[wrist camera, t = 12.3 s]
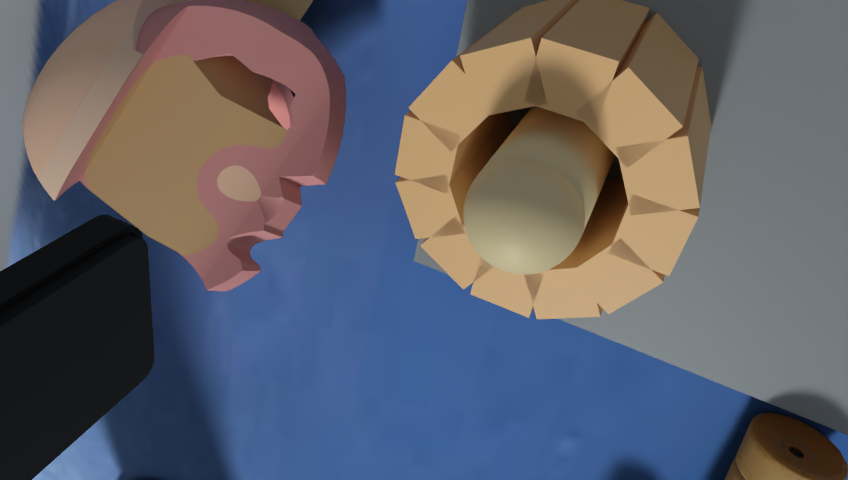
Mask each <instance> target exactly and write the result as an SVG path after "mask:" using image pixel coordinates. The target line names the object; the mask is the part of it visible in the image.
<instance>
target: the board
mask: <svg viewBox="0 0 848 480" xmlns="http://www.w3.org/2000/svg"><path fill="white" fill-rule="evenodd" d="M543 1H547V0H468V1H467V6H466V11H465V16H464V21H463V25H462V30H461V35H460V40H459V45H458V50H457V54H456V57H457V56H458V55H460V54H461V53H462V52H464V51H465V50H466V49H467V48H469V47H470V46H471V45H473V44H474V43H475V42H477V41H478V40H479V39H481V38H482V37H483V36H484V35H486V34H487V33H488V32H490V31H491V30H492V29H494V28H495V27H496V26H498V25H499V24H500V23H501V22H503V21H504V20H505V19H507V18H508V17H509V16H511V15H512V14H513V13H515V12H516V11H519V10H520V9H521V8H522V7H525V6H529V5H532V4H536V3H540V2H543ZM623 1H627V2H630V3H634V4H637V5H641V6H644V7H648V8H650V9H649V12H648V14H647V17H646V20H645V23H646V22H647V21H648V20H649V19H650V18H651V17H653V16H654V15H655V14H656V13H658V14H659V15H660V16H661V17H662V18H663V20H664V21H665V22H666V23H667V24H668V25H669V26H670V27H671V28H672V30H673V31H674V32H675V33H676V34H677V35H678V36H679V37H680V38H681V39H682V41H683V42H684V43H685V44H686V45H687V46H688V47H689V48H690V49H691V50H692V52H693V53H694V54H695V55H696V56H697V57H698V58H699V61H698V65H697V67H700V66H703V73H704V80H705V86H706V93H707V99H708V106H709V113H710V119H711V130H710V138H709V145H708V152H707V160H706V167H705V174H704V181H703V189H702V196H701V203H700V210H699V217H698V219H697V221H696V223H695V225H694V227H693V229H692V231H691V233H690V235H689V237H688V239H687V241H686V244H685V246H684V248H683V250H682V252H681V254H680V256H679V258H678V260H677V262H676V264H675V266H674V268H673V270H672V272H671V274H670V276H667V275H665V277H664V282H663V283H662V284H660V285H658V286H657V287H655V288H653V289H651V290H650V291H648V292H646V293H645V294H643V295H641V296H639V297H638V298H636V299H634V300H633V301H631V302H629V303H627V304H626V305H624V306H622V307H621V308H619V309H617V310H615V311H614V312H612V313H610V314H609V315H608V314H607V312H606V311H605V310H604V309H603V310H602V313H601V316H600V317H583V318H557V319H560V320H562V321H565V322H567V323H570V324H572V325H575V326H577V327H580V328H582V329H585V330H587V331H590V332H592V333H595V334H597V335H600V336H602V337H605V338H607V339H610V340H612V341H615V342H617V343H620V344H622V345H625V346H627V347H630V348H632V349H635V350H637V351H640V352H642V353H645V354H647V355H650V356H652V357H655V358H657V359H660V360H662V361H665V362H667V363H670V364H672V365H675V366H677V367H680V368H682V369H685V370H687V371H690V372H692V373H695V374H697V375H700V376H702V377H705V378H707V379H710V380H712V381H715V382H717V383H719V384H722V385H724V386H727V387H729V388H732V389H734V390H737V391H739V392H742V393H744V394H747V395H749V396H752V397H754V398H757V399H759V400H762V401H764V402H767V403H769V404H772V405H774V406H777V407H779V408H782V409H784V410H787V411H789V412H792V413H794V414H797V415H799V416H802V417H804V418H807V419H809V420H812V421H814V422H817V423H819V424H822V425H824V426H827V427H829V428H832V429H834V430H837V431H839V432H842V433H844V434H847V435H848V0H623ZM645 23H644V24H645ZM509 117H510V120H511V124H512V127H513V131H512V133H511V134H510V135H509V136H508V138H507V139H506V140H505V141H504V143H503V144H502V145H501V146H500V148H499V149H498V150H497V151H496V153H495V154H494V155H493V156H492V158H491V159H490V160H489V161H488V163H487V164H486V165H485V166H484V168H483V169H482V170H481V171H480V173H479V174H478V175H477V177H476V178H475V179H474V181H473V182H472V184H471V186H470V188H469V190H468V192H467V195H466V199H465V202H464V212H463V219H464V226H465V230H466V234H467V236H468V239H469V241H470V243H471V244H472V246H473V247H474V249H475V250H476V252H477V253H478V254H479V255H480V256H481V257H482V258H483V259H484V260H485V261H486V262H488V263H489V264H490V265H492V266H494V267H495V268H498V269H500V270H502V271H505V272H508V273H513V274H521V275H529V274H536V273H540V272H543V271H546V270H549V269H551V268H553V267H555V266H556V265H558V264H560V263H561V262H562V261H564V260H565V259H566V258H567V257H568V256H569V255H570V254H571V253H572V252H573V250H574V249H575V247H576V246H577V244H578V243H579V241H580V239H581V236H582V234H583V232H584V229H585V227H586V225H587V222H588V220H589V217H590V215H591V213H592V210H593V208H594V206H595V203H596V201H597V198H598V196H599V194H600V191H601V189H602V186H603V184H604V182H605V181H610V180H613V179H614V178H616V177H617V176H618V175H620V174H621V173H622V171H621V167H620V162H619V159H618V158H617V156H616V155H615V154H614V153H613V152H612V151H611V150H610V149H609V148H608V147H607V146H606V145H605V144H604V143H603V142H602V140H601V139H600V138H599V137H598V136H597V135H596V134H595V133H594V132H593V131H592V130H591V129H590V128H589V127H588V126H587V124H586V123H585V122H583V121H580V120H577V119H574V118H571V117H568V116H565V115H561V114H558V113H555V112H552V111H549V110H546V109H543V108H540V107H537V106H533V107H528V108H523V109H518V110H513V111H510V113H509ZM425 239H426V238H421V239H418V243H417V248H416V252H415V257H414V261H415V262H418V263H420V264H423V265H425V266H428V267H430V268H433V269H435V270H438V271H440V272H443V273H445V274H447V273H446V271H445V270H444V269H443V268H442V267H441V266H440V265H439V264H438V263H437V262H436V261H435V260H434V259H433V258H432V257H431V256H430V255H429V254H428V253H427V252H426V251H425V250H424V249H423V248H422V247H421V246H420V245H421V244H422V243H423V242H424V240H425ZM473 283H474V282H473ZM473 283H472V284H473ZM533 309H534V307H533Z"/></svg>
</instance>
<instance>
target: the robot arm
mask: <svg viewBox="0 0 848 480" xmlns="http://www.w3.org/2000/svg"><path fill="white" fill-rule="evenodd" d="M153 363H154V344H153V327H152V311H151V295H150V278H149V262H148V247H147V243H146V242H145V241H144V240H143V238H142V233H141V231H140V230H139V229H138V228H137V227H134V226H132V225H130V224H128V223H125V222H123V221H120V220H118V219H116V218H113V217H111V216H109V215H100V216H97V217H95V218H93V219H91V220H90V221H88V222H86V223H84V224H83V225H81V226H79V227H77V228H76V229H74V230H72V231H70V232H69V233H67V234H65V235H63V236H62V237H60V238H58V239H56V240H55V241H53V242H51V243H49V244H48V245H46V246H44V247H42V248H41V249H39V250H37V251H35V252H34V253H32V254H30V255H28V256H27V257H25V258H23V259H21V260H20V261H18V262H16V263H14V264H13V265H11V266H9V267H7V268H6V269H4V270H2V271H0V480H32V479H33V478H34V477H35V476H36V475H37V474H39V473H40V472H41V471H42V470H43V469H44V468H45V467H46V466H47V465H49V464H50V463H51V462H52V461H53V460H54V459H55V458H56V457H58V456H59V455H60V454H61V453H62V452H63V451H64V450H65V449H67V448H68V447H69V446H70V445H71V444H72V443H73V442H74V441H75V440H77V439H78V438H79V437H80V436H81V435H82V434H83V433H84V432H86V431H87V430H88V429H89V428H90V427H91V426H92V425H93V424H95V423H96V422H97V421H98V420H99V419H100V418H101V417H102V416H103V415H105V414H106V413H107V412H108V411H109V410H110V409H111V408H112V407H114V406H115V405H116V404H117V403H118V402H119V401H120V400H121V399H122V398H124V397H125V396H126V395H127V394H128V393H129V392H130V391H131V390H133V389H134V388H135V387H136V386H137V385H138V384H139V383H140V382H142V381H143V380H144V379H145V378H146V376H147V375H148V374H149V372H150V370H151V368H152V366H153Z"/></svg>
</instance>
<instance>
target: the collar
mask: <svg viewBox="0 0 848 480" xmlns="http://www.w3.org/2000/svg"><path fill="white" fill-rule="evenodd" d="M649 9H650V8H648V7H644V6H641V5H637V4H634V3H630V2H627V1H623V0H547V1H543V2H540V3H536V4H532V5H529V6H525V7H522V8H521V9H520V10H519V11H516V12H515V13H513V14H512V15H511V16H509V17H508V18H507V19H505V20H504V21H503V22H501V23H500V24H499V25H498V26H496V27H495V28H494V29H492V30H491V31H490V32H488V33H487V34H486V35H484V36H483V37H482V38H481V39H479V40H478V41H477V42H475V43H474V44H473V45H471V46H470V47H469V48H467V49H466V50H465V51H464V52H462V53H461V54H460V55H458V56H457V57H456V58H454V59H453V60H452V61H451V62H450V63H449V64H448V65H447V66H446V67H445V69H444V70H443V71H442V72H441V73H440V74H439V75H438V76H437V77H436V78H435V79H434V80H433V82H432V83H431V84H430V85H429V86H428V87H427V88H426V89H425V90H424V91H423V92H422V94H421V95H420V96H419V97H418V98H417V99H416V100H415V101H414V102H413V103H412V104H411V105H410V107H409V109H410V110H411V111H409V112H408V113H407V114H406V115H405V117H404V123H403V129H402V135H401V141H400V146H399V152H398V158H397V164H396V170H395V175H397V176H400V177H401V178H400V179H399V180H398V181H397V182H396V185H397V188H398V191H399V194H400V196H401V199H402V202H403V205H404V208H405V210H406V213H407V216H408V219H409V222H410V224H411V227H412V230H413V233H414V236H415V238H416V239H421V238H426V239H425V240H424V242H423V243H422V244H421V245H420V246H421V247H422V248H423V249H424V250H425V251H426V252H427V253H428V254H429V255H430V256H431V257H432V258H433V259H434V260H435V261H436V262H437V263H438V264H439V265H440V266H441V267H442V268H443V269H444V270H445V271H446V273H447V274H448V275H449V276H450V277H451V278H452V279H453V280H454V281H455V282H456V283H457V284H458V285H459V286H460V287H461V288H462V289H463V290H464V289H465V288H466V287H468V286H469V285H470V284H472V283H473V282H474V283H473V286H472V290H471V295H474V296H476V297H479V298H481V299H483V300H486V301H488V302H491V303H493V304H496V305H498V306H501V307H503V308H506V309H508V310H511V311H513V312H516V313H518V314H521V315H523V316H526V317H528V318H529V316H530V314H531V312H532V309H533V307H534V311H535V314H536V318H537V319H557V318H583V317H600V316H601V313H602V310H603V309H604V310H605V311H606V312H607V314H608V315H609V314H610V313H612V312H614V311H615V310H617V309H619V308H621V307H622V306H624V305H626V304H627V303H629V302H631V301H633V300H634V299H636V298H638V297H639V296H641V295H643V294H645V293H646V292H648V291H650V290H651V289H653V288H655V287H657V286H658V285H660V284H662V283H663V282H664V277H665V275H667V276H670V274H671V272H672V270H673V268H674V266H675V264H676V262H677V260H678V258H679V256H680V254H681V252H682V250H683V248H684V246H685V244H686V241H687V239H688V237H689V235H690V233H691V231H692V229H693V227H694V225H695V223H696V221H697V219H698V217H699V210H700V203H701V196H702V189H703V181H704V174H705V167H706V160H707V152H708V145H709V138H710V130H711V119H710V113H709V106H708V99H707V93H706V86H705V80H704V73H703V66H700V67H697V65H698V61H699V58H698V57H697V56H696V55H695V54H694V53H693V52H692V50H691V49H690V48H689V47H688V46H687V45H686V44H685V43H684V42H683V41H682V39H681V38H680V37H679V36H678V35H677V34H676V33H675V32H674V31H673V30H672V28H671V27H670V26H669V25H668V24H667V23H666V22H665V21H664V20H663V18H662V17H661V16H660V15H659V14H658V13H656V14H655V15H654V16H653V17H651V18H650V19H649V20H648V21H647V22H646V23H645V20H646V17H647V14H648V12H649ZM644 23H645V24H644ZM533 106H537V107H540V108H543V109H546V110H549V111H552V112H555V113H558V114H561V115H565V116H568V117H571V118H574V119H577V120H580V121H583V122H585V123H586V124H587V126H588V127H589V128H590V129H591V130H592V131H593V132H594V133H595V134H596V135H597V136H598V137H599V138H600V139H601V140H602V142H603V143H604V144H605V145H606V146H607V147H608V148H609V149H610V150H611V151H612V152H613V153H614V154H615V155H616V156H617V158H618V159H619V162H620V167H621V171H622V173H621V174H620V175H618V176H617V177H616V178H614V179H613V180H610V181H605V182H604V184H603V186H602V189H601V191H600V194H599V196H598V198H597V201H596V203H595V206H594V208H593V210H592V213H591V215H590V217H589V220H588V222H587V225H586V227H585V229H584V232H583V234H582V236H581V239H580V241H579V243H578V244H577V246H576V247H575V249H574V250H573V252H572V253H571V254H570V255H569V256H568V257H567V258H566V259H565V260H564V261H562V262H561V263H560V264H558V265H556V266H555V267H553V268H551V269H549V270H546V271H543V272H540V273H536V274H529V275H521V274H513V273H508V272H505V271H502V270H500V269H498V268H495V267H494V266H492V265H490V264H489V263H488V262H486V261H485V260H484V259H483V258H482V257H481V256H480V255H479V254H478V253H477V252H476V250H475V249H474V247H473V246H472V244H471V243H470V241H469V239H468V236H467V234H466V230H465V226H464V219H463V212H464V202H465V199H466V195H467V192H468V190H469V188H470V186H471V184H472V182H473V181H474V179H475V178H476V177H477V175H478V174H479V173H480V171H481V170H482V169H483V168H484V166H485V165H486V164H487V163H488V161H489V160H490V159H491V158H492V156H493V155H494V154H495V153H496V151H497V150H498V149H499V148H500V146H501V145H502V144H503V143H504V141H505V140H506V139H507V138H508V136H509V135H510V134H511V133H512V131H513V127H512V124H511V120H510V117H509V113H510V111H513V110H518V109H523V108H528V107H533Z"/></svg>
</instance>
